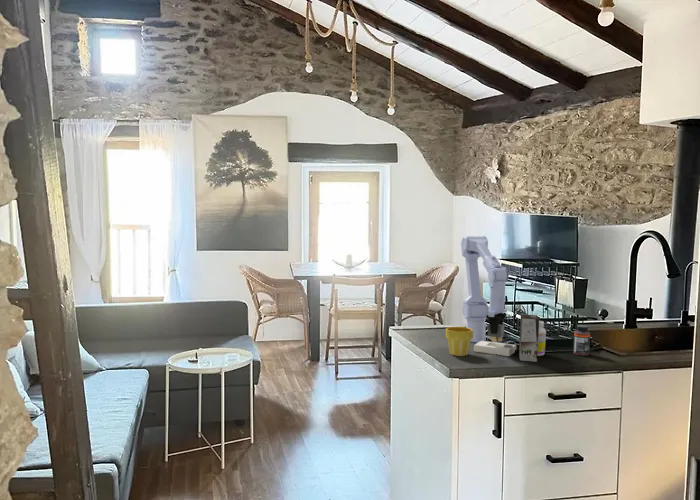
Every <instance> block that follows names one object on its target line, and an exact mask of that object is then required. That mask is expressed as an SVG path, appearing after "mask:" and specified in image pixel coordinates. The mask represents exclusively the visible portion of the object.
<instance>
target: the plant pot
mask: <svg viewBox="0 0 700 500" xmlns="http://www.w3.org/2000/svg"><path fill="white" fill-rule="evenodd" d="M445 338H446V339H447V344H448V350H449V354H450V355H452V356H454V355H455V357H466V356H468V354H469V350H470V346H471V343H472V342H471V339H472V338H473V330H472V329H470V328H466V327H465V326H451V327H446V328H445ZM465 355H466V356H465Z"/></svg>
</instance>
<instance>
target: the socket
mask: <svg viewBox="0 0 700 500" xmlns="http://www.w3.org/2000/svg"><path fill="white" fill-rule="evenodd" d="M515 350H516V351H517V344H513V343H504V342H499V341H497V342H492V341H491V340H490V341H489V340H485V341H483V340H482V341H480V342H478V343H477V342H476V343H475V344H474V345H473V352H475V353H476V352H477V353H482V354H483V353H484V354H490V355H496V354H497V356H503V357H511V356H512V355H513V354H515Z"/></svg>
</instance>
